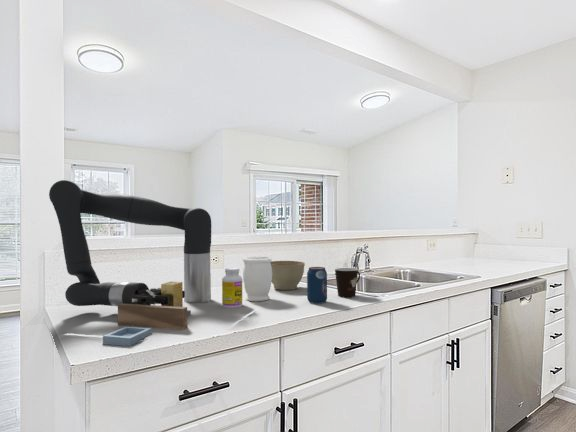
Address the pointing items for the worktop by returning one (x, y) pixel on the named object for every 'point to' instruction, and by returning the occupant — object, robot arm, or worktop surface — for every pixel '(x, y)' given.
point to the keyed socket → (126, 336)
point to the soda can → (317, 285)
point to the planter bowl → (286, 274)
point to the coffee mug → (346, 281)
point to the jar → (257, 278)
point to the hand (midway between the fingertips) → (176, 297)
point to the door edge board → (152, 316)
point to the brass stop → (172, 293)
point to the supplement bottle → (232, 288)
